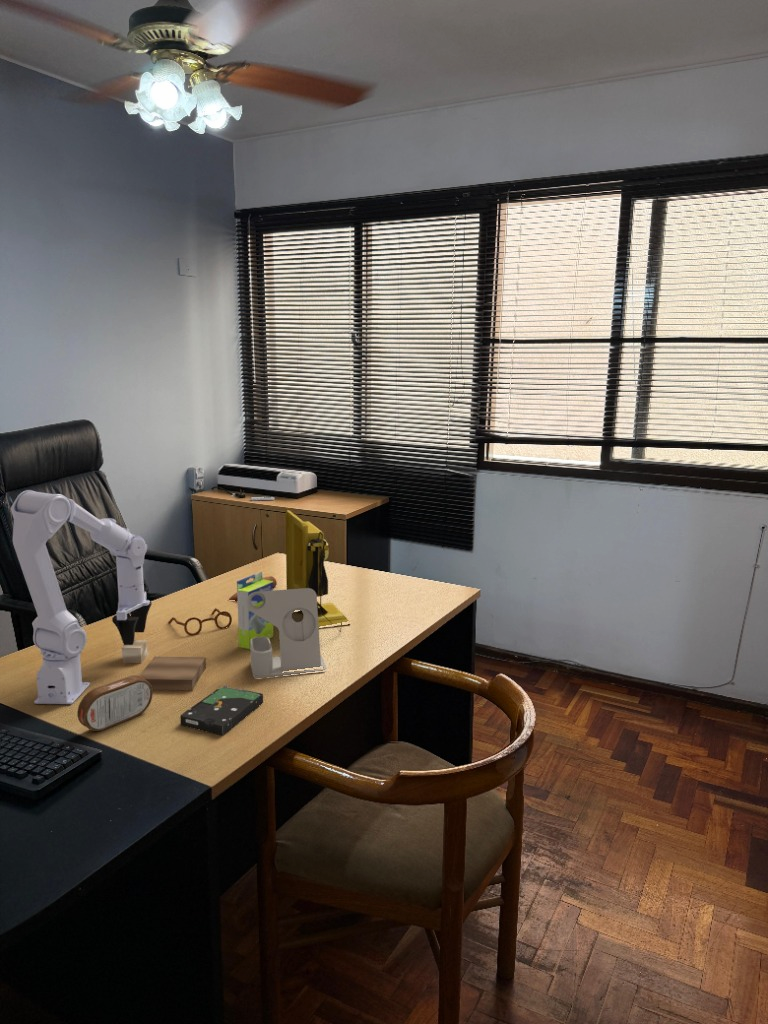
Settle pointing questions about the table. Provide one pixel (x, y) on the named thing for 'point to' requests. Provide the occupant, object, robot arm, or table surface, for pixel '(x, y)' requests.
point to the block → (134, 652)
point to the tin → (114, 703)
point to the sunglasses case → (262, 578)
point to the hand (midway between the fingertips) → (134, 638)
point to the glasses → (204, 621)
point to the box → (247, 620)
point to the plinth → (174, 672)
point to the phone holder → (287, 633)
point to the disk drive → (221, 710)
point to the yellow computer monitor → (309, 565)
